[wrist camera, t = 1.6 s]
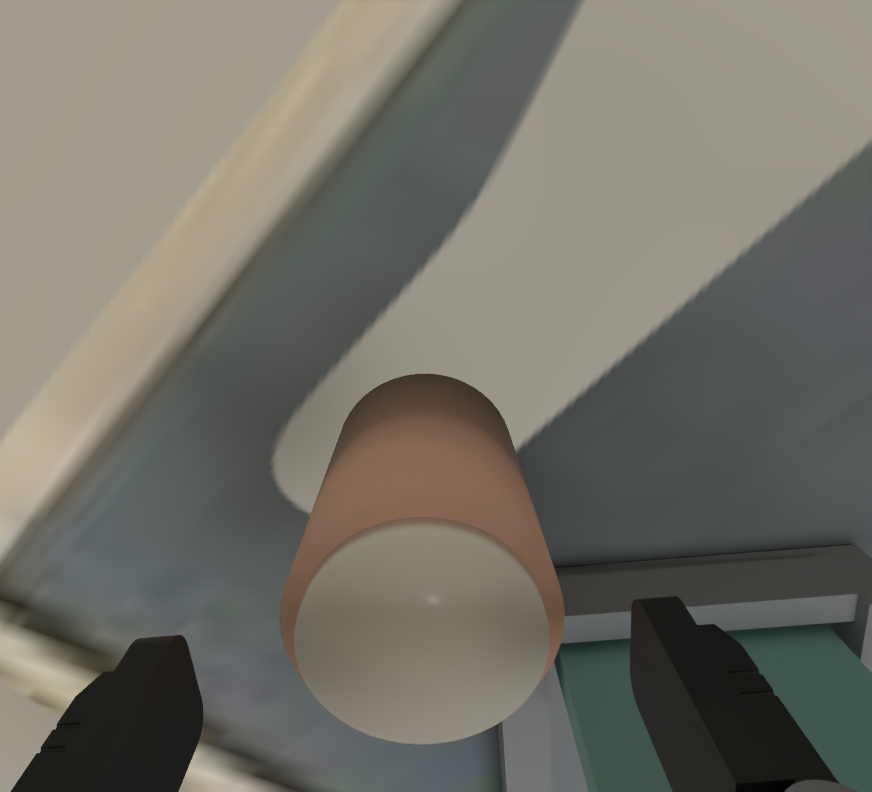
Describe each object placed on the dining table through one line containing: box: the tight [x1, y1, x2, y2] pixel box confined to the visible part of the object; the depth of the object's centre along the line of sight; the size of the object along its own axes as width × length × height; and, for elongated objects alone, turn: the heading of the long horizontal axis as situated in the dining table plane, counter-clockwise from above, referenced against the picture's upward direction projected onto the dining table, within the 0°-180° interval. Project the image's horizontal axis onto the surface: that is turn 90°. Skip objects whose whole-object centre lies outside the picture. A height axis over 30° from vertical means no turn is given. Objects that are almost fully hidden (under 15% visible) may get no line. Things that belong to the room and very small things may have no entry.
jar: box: [280, 374, 565, 744], centre depth 16 cm, size 6×6×9 cm
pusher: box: [554, 623, 872, 792], centre depth 18 cm, size 9×3×7 cm, turn 95°
